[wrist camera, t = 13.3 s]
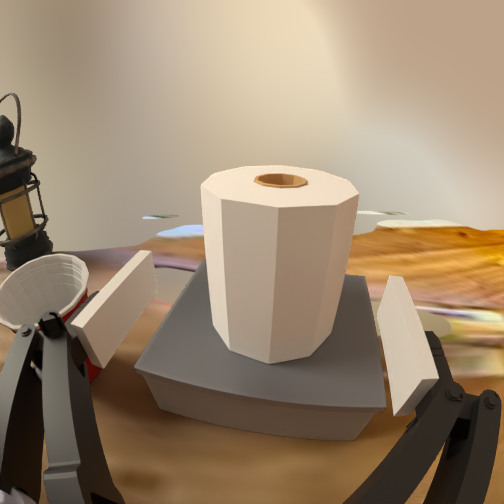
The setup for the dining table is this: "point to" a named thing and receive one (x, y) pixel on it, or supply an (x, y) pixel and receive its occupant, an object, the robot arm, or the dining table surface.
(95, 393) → the dining table surface
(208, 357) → the grey box
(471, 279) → the dining table surface
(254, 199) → the toilet paper
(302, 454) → the dining table surface
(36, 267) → the plastic cup
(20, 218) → the lantern
